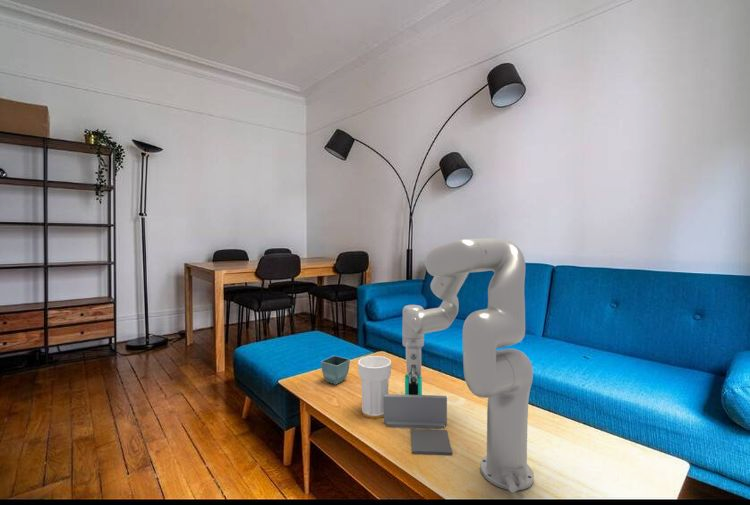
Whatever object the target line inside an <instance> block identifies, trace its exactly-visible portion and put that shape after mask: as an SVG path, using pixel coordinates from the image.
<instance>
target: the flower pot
mask: <svg viewBox="0 0 750 505" xmlns="http://www.w3.org/2000/svg"><path fill="white" fill-rule="evenodd" d="M350 362H351V359H349V358H346V357H342V356H338V355H332V356H330V357H327V358H326V359H323V360H321V361H320V365H321V372H322V373H321V374H322V376H323V378H324V379H325V381H326V382H327V383H329V382H330V384H332V383H333V385H336V384H337V385H339V384H341V383H342V382H344V381H345V380H346V378H347V375H349V374H348V373H349V370H350ZM343 380H344V381H343ZM341 381H342V382H341ZM340 382H341V383H340ZM338 383H339V384H338Z"/></svg>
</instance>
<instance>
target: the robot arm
mask: <svg viewBox="0 0 750 505" xmlns="http://www.w3.org/2000/svg"><path fill="white" fill-rule="evenodd" d="M424 262H425V263H424V264H425V269H426V272H427V273H428V274H429V275H431V277H433V278H432V280H431V282H430V290H431V292H432V293H433V295H435V296H436V297H437V298H439V299H440V300H442V302H441V304H440V305H439V306H438V307H434V308H428V309H424V307H423V306H421V305H419V304H418V305H417V304H408V305H405V306H403V308H402V335H401V336H402V346H403V347H404V348H405V367H406V374H407V375H408V376H409V392H408V393H409V395H418V381H417V375H418V376H422V348H423V347H424V346H425V334H429V333H432V332H440V331H444V330H446V329H448V328H449V327H450V326H451V325H453V324H452V323H453V322H454V320H455V318H456V317H457V316H458V313H459V309H460V308H459V305H460V303H459V297H458V296H457V295H458V293H459V291H460V290H461V287H462V286H463V285H464V283H465V281H466V279H467V278H468V276H469V274H470V273H480V272H488V271H489V272H490V271H492V272H493V273H494V274H493V275H492V277H491V279H490V281H489V284H488V288H487V299H488V300H487V308H484V309H479V310H475V311H473V312H471V313H470V314H468V316H467V317H466V319H465V320H464V322H463V327H462V356H463V357H462V360H463V361H462V362H463V363H462V364H463V375H464V376H463V377H464V382H465V384H466V386H467V387H468V390H469V391H470V392H471V393H472V394H473V395H474V396H476V397H477V398H481V399H487V405H486V407H487V408H486V410H487V411H486V455H485V456H484V457H483V458H481V461H480V465H479V469H480V472H481V474H482V475H483V477H484V479H486V480H487V481H488V482H489V483H491V484H492V485H493V486H494V485H495V486H496V487H497V488H501V489H505V490H507V491H509V492H510V493H513V494H514V493H516V492H518V491H524V490H525V489H526V490H527V489H528V488H530V487H531V486H532V485H533V483H534V476H535V475H534V472H533V470H532V468H531V467H530V466H529V465H528V420H529V419H528V418H529V400H530V392H531V387H532V383H533V376H534V369H533V365H532V362H531V360H530V359H529V357H528V356H527V355H526V354H525V352H523V351H521V350H519V349H516V348H505V347H509V346H513V345H516V344H518V343H520V342H522V341H523V339H524V337H525V335H526V304H525V302H526V300H525V299H526V298H525V297H526V296H525V282H526V281H525V279H526V278H525V277H526V260H525V256H524V254H523V252H522V250H521V249H520V248H519V246H517V245H516V244H515V243H514V242H512V241H511V240H507V239H504V238H495V237H494V238H493V237H491V238H487V237H486V238H464V239H463V238H462V239H458V240H457V239H456V240H454V241H451V242H447V243H444V244H441V245H437V246H434V247H432V248H431V249H430V250H429V252H428V253H427V255H426V257H425V261H424ZM502 348H504V349H502ZM498 349H499V350H498ZM410 373H412V374H410ZM411 377H412V378H411Z"/></svg>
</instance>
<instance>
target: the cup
mask: <svg viewBox="0 0 750 505" xmlns="http://www.w3.org/2000/svg"><path fill="white" fill-rule="evenodd" d="M357 368H358V369H357V371H358V374H357V375H358V377H359V378H360V381H361V382H360V383H361V403H362V404H361V406H362V407H361V414H362V415H363V416H365V417H366V418H370V419H378V418H379V419H380V418H384V408H383V396H384V394H389V380H390V379H389V378H390V377H391V374H392V361H391V359H390V358H388V357H386V356H383V355H382V356H381V355H369V356H365V357H364V356H363V357H362V358H360V359H358V361H357Z"/></svg>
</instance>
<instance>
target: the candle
mask: <svg viewBox="0 0 750 505" xmlns="http://www.w3.org/2000/svg"><path fill="white" fill-rule="evenodd" d="M410 374H412V373H410ZM411 378H412V377H411ZM417 381H418V395H423V376H422V375H421V376H418V375H417ZM408 392H409V376H408V375H407V373H406V374H405V375H404V395H409V393H408Z"/></svg>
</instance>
